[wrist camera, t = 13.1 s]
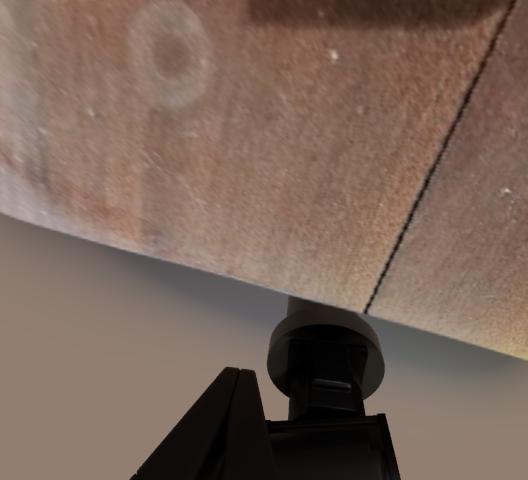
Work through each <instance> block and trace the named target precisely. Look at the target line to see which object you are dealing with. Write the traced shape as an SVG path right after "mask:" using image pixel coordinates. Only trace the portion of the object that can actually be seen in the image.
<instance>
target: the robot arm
mask: <svg viewBox="0 0 528 480" xmlns="http://www.w3.org/2000/svg"><path fill="white" fill-rule="evenodd" d="M294 344H296V345H294ZM360 351H364V352H360ZM367 359H368V348H367V347H366V346H363V345H356V344H346V343H337V342H328V341H319V340H309V339H300V338H292V339H290V340H289V347H288V360H287V373H286V386H285V392H286V394H288V395H290V400H289V415H288V420H287V421H271V420H265V416H264V411H263V406H262V401H261V397H260V392H259V387H258V383H257V378H256V373H255V371H254V370H248V369H241V370H240V369H239V368H233V367H226V368H225V369H223V371H222V372H221V373H220V374H219V375H218V376H217V378H216V379H215V380H214V381H213V382H212V383H211V385H210V386H209V387H208V388H207V389H206V391H205V392H204V393H203V394H202V395H201V396H200V398H199V399H198V400H197V401H196V402H195V403H194V405H193V406H192V407H191V408H190V409H189V410H188V412H187V413H186V414H185V415H184V416H183V418H182V419H181V420H180V421H179V422H178V423H177V425H176V426H175V427H174V428H173V429H172V431H171V432H170V433H169V434H168V435H167V436H166V438H165V439H164V440H163V441H162V442H161V444H160V445H159V446H158V447H157V448H156V449H155V451H154V452H153V453H152V454H151V455H150V456H149V457H148V459H147V460H146V461H145V462H144V463H143V465H142V466H141V467H140V468H139V469H138V470H137V474H134V475H133V476H132V477H131V478H130V480H221V479H222V480H401V478H400V474H399V470H398V465H397V461H396V457H395V452H394V448H393V445H392V440H391V437H390V432H389V428H388V424H387V419H386V416H385V413H382V414H377V415H373V416H366V415H365V409H364V403H363V397H362V390H361V385H362V381H363V376H364V372H365V367H366V363H367Z"/></svg>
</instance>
